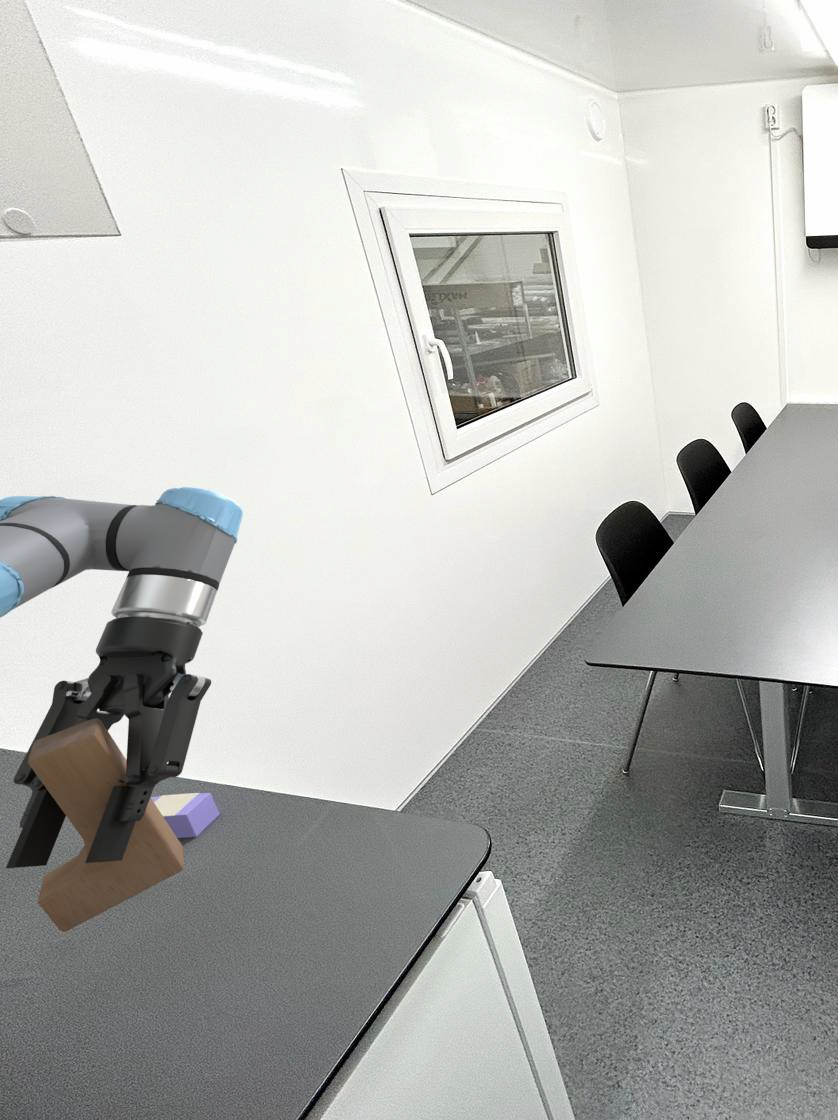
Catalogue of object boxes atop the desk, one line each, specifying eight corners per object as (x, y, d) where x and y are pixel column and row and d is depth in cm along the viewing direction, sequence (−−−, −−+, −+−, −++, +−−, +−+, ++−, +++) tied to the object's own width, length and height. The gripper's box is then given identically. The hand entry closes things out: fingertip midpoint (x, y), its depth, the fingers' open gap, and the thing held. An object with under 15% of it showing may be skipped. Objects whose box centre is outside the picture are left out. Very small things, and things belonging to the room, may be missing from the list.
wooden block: (61, 935, 59) (-54, 792, 53) (66, 907, 63) (-43, 768, 56) (185, 870, 65) (95, 733, 59) (184, 847, 68) (98, 715, 62)
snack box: (120, 842, 85) (108, 820, 84) (147, 819, 89) (136, 797, 88) (196, 837, 86) (185, 814, 84) (220, 814, 90) (210, 791, 88)
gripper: (274, 628, 72) (205, 854, 62) (100, 636, 71) (2, 868, 61) (221, 609, 65) (134, 860, 55) (28, 618, 64) (-96, 875, 54)
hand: (65, 863), depth 58 cm, fingers closed on wooden block, 6 cm apart
